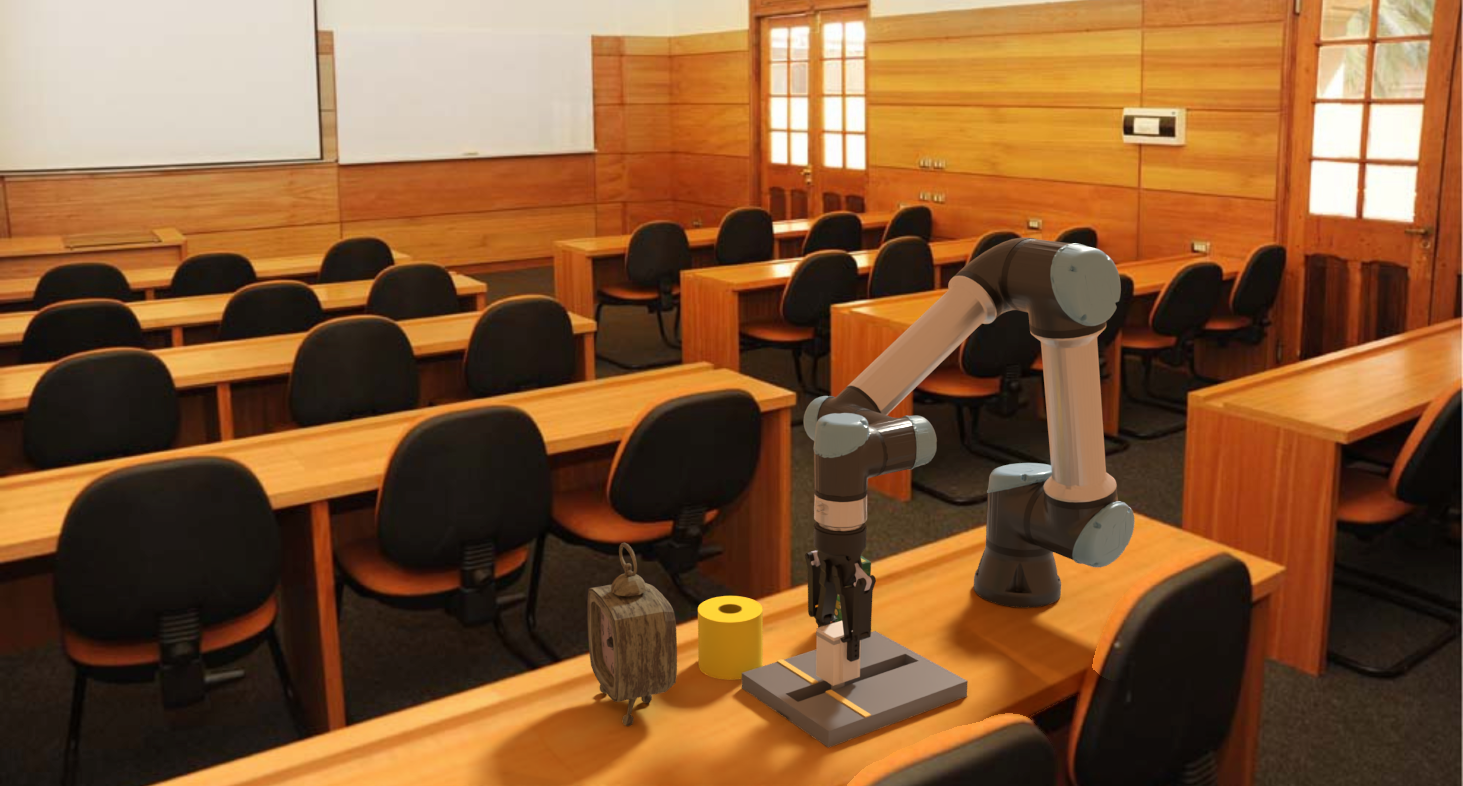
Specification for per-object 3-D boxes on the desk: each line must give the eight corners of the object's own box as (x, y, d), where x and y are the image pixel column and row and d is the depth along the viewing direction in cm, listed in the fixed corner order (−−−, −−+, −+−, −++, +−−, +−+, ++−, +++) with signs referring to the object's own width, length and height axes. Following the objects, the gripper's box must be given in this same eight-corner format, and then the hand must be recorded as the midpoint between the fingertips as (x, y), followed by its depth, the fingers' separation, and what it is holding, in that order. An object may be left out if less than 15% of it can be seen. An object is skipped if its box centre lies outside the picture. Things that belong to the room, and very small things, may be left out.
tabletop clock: (589, 690, 190) (584, 533, 184) (646, 678, 193) (643, 524, 187) (620, 734, 177) (615, 567, 171) (680, 721, 180) (678, 557, 174)
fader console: (874, 645, 204) (875, 629, 204) (966, 696, 187) (967, 679, 187) (741, 688, 190) (741, 671, 189) (828, 747, 173) (828, 729, 173)
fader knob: (842, 682, 190) (843, 619, 187) (859, 693, 187) (861, 629, 184) (815, 692, 187) (816, 628, 185) (832, 703, 184) (833, 638, 181)
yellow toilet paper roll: (772, 657, 200) (772, 602, 198) (746, 684, 191) (746, 627, 189) (715, 646, 204) (715, 591, 202) (687, 672, 195) (686, 615, 193)
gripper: (783, 510, 185) (782, 657, 191) (858, 545, 171) (855, 702, 177) (823, 501, 189) (822, 644, 195) (900, 534, 175) (896, 688, 181)
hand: (838, 672), depth 186 cm, fingers closed on fader knob, 4 cm apart
